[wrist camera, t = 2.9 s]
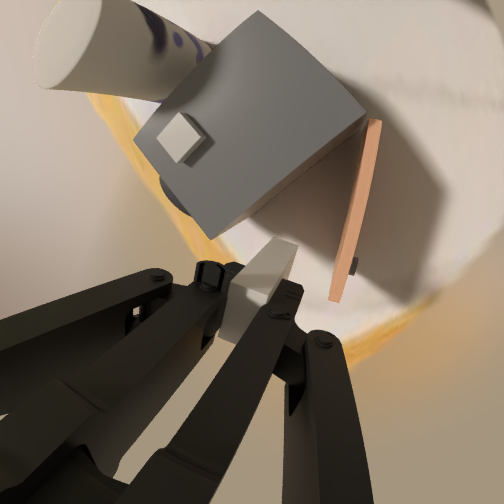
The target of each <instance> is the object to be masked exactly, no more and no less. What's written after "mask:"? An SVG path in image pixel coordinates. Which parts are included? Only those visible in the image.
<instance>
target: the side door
mask: <svg viewBox="0 0 504 504" xmlns="http://www.w3.org/2000/svg"><path fill="white" fill-rule="evenodd" d="M381 126H382V121H381V120H377V119H373V118H369V119H368V121H367V123H366V125H365V127H364V129H363V132H362V138H361V144H360V150H359V155H358V161H357V166H356V171H355V176H354V181H353V186H352V191H351V196H350V200H349V205H348V209H347V214H346V218H345V222H344V227H343V231H342V235H341V239H340V243H339V247H338V251H337V255H336V258H335V263H334V269H333V275H332V281H331V287H330V292H329V298H328V300H329V301H333V302H337V303H339V302H340V299H341V296H342V293H343V290H344V286H345V283H346V280H347V276H348V274H349V275H352V276H354V274H355V272H356V268H357V264H358V258H357V257H353V256H354V252H355V248H356V244H357V241H358V237H359V233H360V229H361V225H362V221H363V217H364V213H365V209H366V204H367V200H368V195H369V191H370V186H371V181H372V176H373V172H374V166H375V161H376V156H377V150H378V145H379V139H380V133H381Z"/></svg>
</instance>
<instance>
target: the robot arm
mask: <svg viewBox="0 0 504 504" xmlns="http://www.w3.org/2000/svg"><path fill="white" fill-rule="evenodd" d="M297 249H298V245H295V244H292V243H289V242H286V241H283V240H280V239H277V238H274V237H273V238H272V239H271V240H270V241H269V243H268V244H267V245H266V246H265V247H264V248H263V249H262V250H261V251H260V252H259V253H258V254H257V255H256V256H255V257H254V258H253V259H252V260H251V261H250V262H249V263H248V264H247V265H246V266H245V265H242V264H239V263H237V262H230V263H226V264H225V265H223V264H221V263H218V262H214V261H207V260H206V261H200V262H197V264H196V270H195V276H194V281H193V282H192V283H191V284H189V285H188V286H184V285H179V284H174V283H173V276H172V274H171V273H169V272H168V271H166V270H163V269H159V268H151V269H146V270H143V271H140V272H137V273H134V274H131V275H128V276H125V277H122V278H119V279H116V280H113V281H110V282H107V283H105V284H101V285H98V286H95V287H92V288H90V289H86V290H84V291H81V292H78V293H75V294H72V295H69V296H66V297H63V298H60V299H58V300H55V301H52V302H49V303H46V304H43V305H41V306H38V307H35V308H32V309H29V310H26V311H24V312H21V313H18V314H15V315H12V316H10V317H7V318H4V319H2V320H0V416H1V415H5V414H8V413H9V414H8V415H6V416H5V417H4V418H3V419H2V420H0V504H210V502H211V499H212V498H213V496H214V494H215V492H216V490H217V489H218V487H219V485H220V483H221V481H222V479H223V477H224V475H225V473H226V471H227V469H228V468H229V466H230V464H231V461H232V460H233V458H234V456H235V454H236V451H237V449H238V447H239V445H240V443H241V441H242V439H243V437H244V435H245V433H246V431H247V429H248V426H249V424H250V422H251V420H252V417H253V416H254V413H255V411H256V409H257V407H258V404H259V402H260V400H261V398H262V395H263V393H264V391H265V389H266V386H267V384H268V381H269V380H270V377H271V375H272V373H273V374H274V375H276V376H277V377H279V378H280V379H282V380H283V381H285V382H286V384H285V399H284V400H285V401H284V402H285V405H284V458H283V489H282V504H374V502H373V494H372V488H371V481H370V475H369V469H368V463H367V458H366V452H365V447H364V442H363V436H362V431H361V427H360V422H359V417H358V412H357V408H356V403H355V398H354V394H353V389H352V385H351V381H350V377H349V372H348V368H347V364H346V360H345V356H344V352H343V348H342V344H341V342H340V340H339V339H338V338H337V337H336V336H335V335H333V334H332V333H330V332H327V331H324V330H313V331H310V332H309V333H308V334H307V333H306V332H304V331H303V330H301V329H300V328H299V327H298V326H297V324H296V323H295V320H294V318H295V315H296V312H297V310H298V307H299V304H300V302H301V299H302V296H303V293H304V289H303V287H302V285H300V284H297V283H295V282H292V281H289V280H288V277H289V274H290V271H291V268H292V265H293V261H294V258H295V255H296V252H297ZM136 307H139V314H137V315H133V309H134V308H136ZM219 328H220V330H219V334H218V337H219V338H222V339H224V340H226V341H229V342H231V343H234V344H236V346H235V348H234V349H233V351H232V352H231V354H230V355H229V357H228V358H227V360H226V362H225V363H224V364H223V366H222V367H221V369H220V370H219V372H218V373H217V375H216V376H215V378H214V379H213V381H212V382H211V384H210V385H209V387H208V388H207V390H206V391H205V393H204V394H203V395H202V397H201V399H200V400H199V401H198V403H197V404H196V406H195V407H194V409H193V410H192V411H191V413H190V414H189V416H188V417H187V419H186V420H185V422H184V423H183V424H182V426H181V427H180V429H179V430H178V431H177V433H176V434H175V436H174V437H173V438H172V440H171V441H170V443H169V444H168V445H167V446H166V447H165V448H161V449H158V450H157V451H156V452H155V453H154V454H153V455H152V456H151V457H150V458H149V460H148V461H147V462H146V464H145V465H144V467H143V468H142V469H141V470H140V472H139V473H138V474H137V475H136V477H135V478H134V480H133V481H132V482H131V483H130V484H126V483H123V482H121V481H118V480H115V479H113V476H114V475H115V473H116V471H117V469H118V466H119V462H120V460H121V458H122V457H123V456H124V454H125V453H126V452H127V451H128V449H129V448H130V447H131V445H133V443H134V442H135V441H136V440H137V438H138V437H139V436H140V435H141V433H142V432H143V431H144V430H145V429H146V427H147V426H148V425H149V424H150V422H151V421H152V420H153V419H154V417H155V416H156V415H157V414H158V412H159V411H160V410H161V409H162V407H163V406H164V405H165V404H166V402H167V401H168V400H169V399H170V397H171V396H172V395H173V394H174V392H175V391H176V390H177V388H178V387H179V386H180V385H181V383H182V382H183V381H184V379H185V378H186V377H187V376H188V375H189V373H190V372H191V371H192V369H193V368H194V367H195V366H196V364H197V363H198V362H199V360H200V359H201V358H202V357H203V355H204V354H205V353H206V351H207V350H208V349H209V347H210V346H211V345H212V344H213V341H214V337H215V333H216V331H218V329H219Z"/></svg>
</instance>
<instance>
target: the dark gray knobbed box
mask: <svg viewBox="0 0 504 504" xmlns="http://www.w3.org/2000/svg"><path fill="white" fill-rule="evenodd" d="M365 115H366V111H365V110H364V108H363V107H362V106H361V105H360V104H359V103H358V102H357V100H356V99H355V98H354V97H353V96H352V95H351V94H350V93H349V92H348V91H347V90H346V88H345V87H344V86H343V85H342V84H341V83H340V82H339V81H338V80H337V79H336V78H335V77H334V76H333V75H332V74H331V73H330V72H329V71H328V70H327V69H326V68H325V67H324V66H323V65H322V64H321V63H320V62H319V61H318V60H317V59H316V58H315V57H314V56H313V55H311V54H310V53H309V52H308V51H307V50H306V49H305V48H304V47H303V46H302V45H300V44H299V43H298V42H297V41H296V40H295V39H294V38H292V37H291V36H290V35H289V34H288V33H286V32H285V31H284V30H283V29H282V28H280V27H279V26H278V25H277V24H275V23H274V22H273V21H272V20H270V19H269V18H268V17H266V16H265V15H264V14H263V13H261V12H260V11H259V10H257V11H256V12H255V13H254V14H252V15H251V16H250V17H249V18H248V19H246V20H245V21H244V22H243V23H242V24H240V25H239V26H238V27H237V28H236V29H235V30H234V31H232V32H231V33H230V34H229V35H228V36H227V37H226V38H225V39H224V40H222V41H221V42H220V43H219V44H218V45H217V46H216V47H215V48H214V49H213V50H212V51H211V52H210V53H209V54H208V55H207V56H206V57H205V58H204V59H203V60H202V61H201V62H200V63H199V64H198V65H197V66H196V67H195V68H194V69H193V70H192V71H191V72H190V73H189V74H188V75H187V76H186V77H185V78H184V79H183V80H182V81H181V82H180V84H179V85H178V86H177V87H176V88H175V89H174V90H173V91H172V92H171V94H170V95H169V96H168V97H167V98H166V99H165V100H164V102H163V103H162V104H161V105H160V106H159V107H158V109H157V110H156V111H155V112H154V113H153V115H152V116H151V117H150V118H149V120H148V121H147V122H146V123H145V125H144V126H143V127H142V128H141V130H140V131H139V132H138V134H137V135H136V136H135V138H134V139H133V141H134V142H135V144H136V145H137V146H138V147H139V149H140V150H141V151H142V153H143V154H144V155H145V157H146V158H147V159H148V161H149V162H150V163H151V165H152V166H153V167H154V169H155V170H156V171H157V172H158V174H159V175H160V178H159V179H160V184H161V187H162V189H163V191H164V193H165V195H166V196H167V197H168V199H169V200H170V201H171V202H172V203H173V204H174V205H175V206H176V207H177V208H178V209H179V210H181V211H182V212H183V213H185V214H187V215H189V216H191V217H192V218H193V219H194V220H195V221H196V223H197V224H198V225H199V226H200V228H201V229H202V230H203V231H204V233H205V234H206V235H207V237H208V238H209V239H210V240H212V239H214V238H216V237H217V236H219V235H220V234H222V233H224V232H225V231H227V230H228V229H230V228H232V227H233V226H235V225H237V224H238V223H240V222H242V221H243V220H245V219H246V218H248V217H250V216H251V215H253V214H255V213H256V212H257V211H258V210H260V209H261V208H262V207H263V206H264V205H266V204H267V203H268V202H269V201H270V200H272V199H273V198H274V197H275V196H276V195H278V194H279V193H280V192H281V191H283V190H284V189H285V188H286V187H288V186H289V185H290V184H291V183H292V182H294V181H295V180H296V179H297V178H299V177H300V176H301V175H302V174H304V173H305V172H306V171H307V170H309V169H310V168H311V167H312V166H314V165H315V164H316V163H317V162H319V161H320V160H321V159H322V158H324V157H325V156H326V155H327V154H329V153H330V152H331V151H332V150H334V149H335V148H336V147H337V146H339V145H340V144H341V143H343V142H344V141H345V140H346V139H348V138H349V137H350V136H351V135H353V134H354V133H355V132H357V131H358V130H359V129H360V128H361V125H362V123H363V120H364V118H365Z"/></svg>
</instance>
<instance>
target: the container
mask: <svg viewBox="0 0 504 504" xmlns="http://www.w3.org/2000/svg"><path fill="white" fill-rule="evenodd" d="M211 51H212V50H211V48H210V47H209V46H208V45H207V44H206V43H205V42H203V41H202V40H200V39H199V38H197V37H196V36H194V35H192V34H191V33H189V32H187V31H186V30H184V29H183V28H181V27H179V26H177V25H176V24H174V23H172V22H171V21H169V20H167V19H165V18H163V17H162V16H160V15H158V14H156V13H154V12H152V11H151V10H149V9H147V8H145V7H143V6H140V5H139V4H137V3H135V2H133V1H131V0H60V1H59V3H58V4H57V5H56V6H55V7H54V9H53V10H52V11H51V13H50V14H49V16H48V17H47V19H46V21H45V22H44V24H43V26H42V28H41V30H40V33H39V35H38V38H37V41H36V44H35V48H34V52H33V58H32V71H33V77H34V80H35V82H36V84H37V85H38V86H39V87H40V88H43V89H54V90H69V91H81V92H90V93H99V94H107V95H115V96H122V97H128V98H135V99H141V100H147V101H152V102H157V103H163V102H164V100H165V99H166V98H167V97H168V96H169V95H170V94H171V92H172V91H173V90H174V89H175V88H176V87H177V86H178V85H179V84H180V82H181V81H182V80H183V79H184V78H185V77H186V76H187V75H188V74H189V73H190V72H191V71H192V70H193V69H194V68H195V67H196V66H197V65H198V64H199V63H200V62H201V61H202V60H203V59H204V58H205V57H206V56H207V55H208V54H209V53H210V52H211Z"/></svg>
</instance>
